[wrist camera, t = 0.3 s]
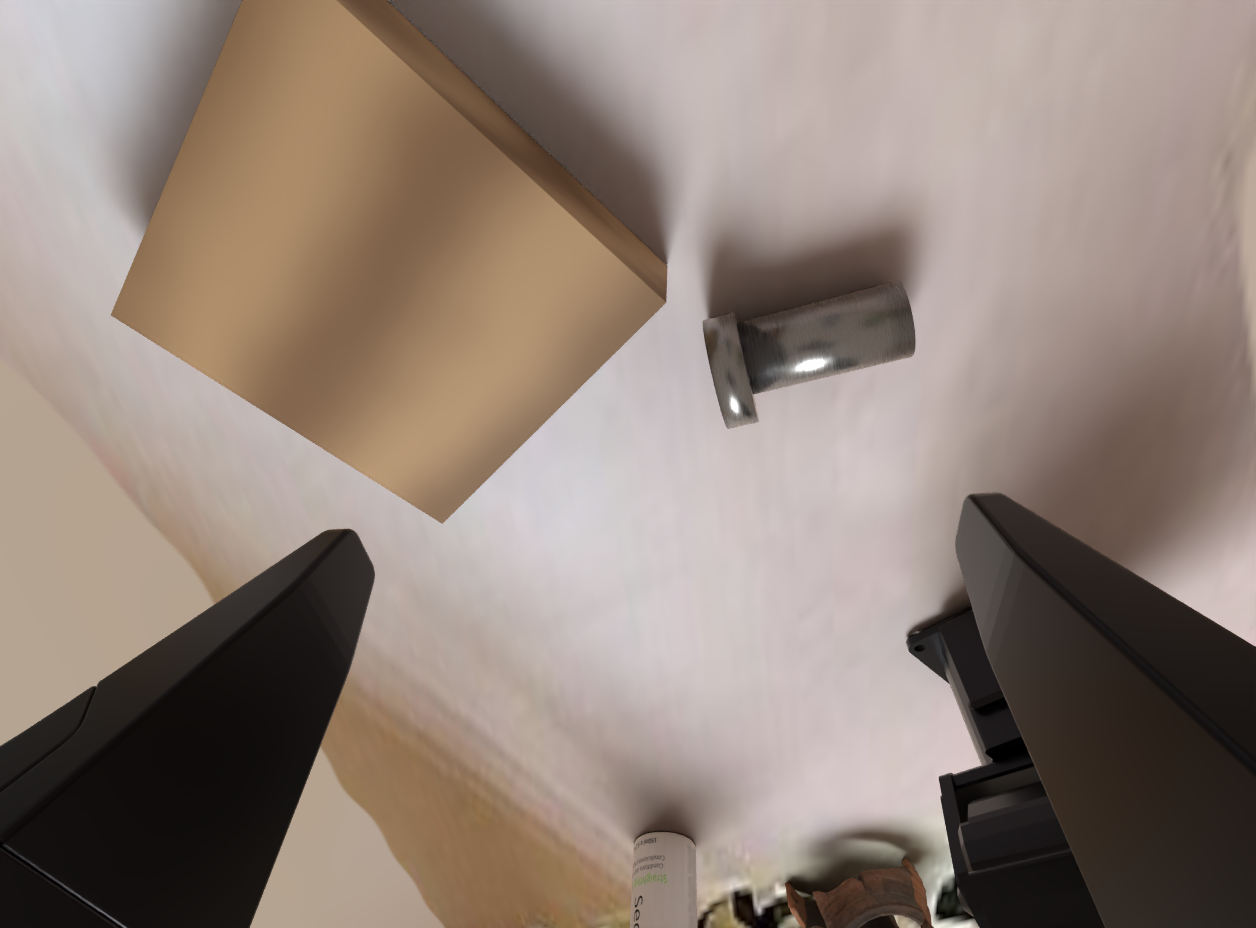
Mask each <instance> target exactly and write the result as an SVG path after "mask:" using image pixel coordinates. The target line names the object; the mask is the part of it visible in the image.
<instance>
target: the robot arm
mask: <svg viewBox="0 0 1256 928" xmlns="http://www.w3.org/2000/svg"><path fill="white" fill-rule="evenodd" d="M955 545H956V554H957V558H958V561H959V565H960V568H961V571H962V575H963V578H964V581H965V585H966V588H967V592H968V595H969V598H970V602H971V605H972V606H971V607H969V608H967V609H965V610H963V611H961V612H959V613H957V614H955V615H953V616H951V617H949V618H947V619H945V620H943V621H941V622H939V623H937V624H935V625H933V626H931V627H929V628H927V629H925V630H923V631H921V632H919V633H917V634H915V635H913V636H911V637H910V638H908V640H907V641H906V644H907V647H908V650H909V652H910V653H911V654H912V655H914V656H915V657H916V658H917V659H919V660H920V661H921V662H923V663H924V664H925V665H926V666H928V667H929V668H930V669H931V670H933V671H934V672H935V673H936V674H938V675H939V676H940V677H941V678H943V679H944V680H945V681H946V682H948V683H949V684H950V686H951V688H952V691H953V693H954V696H955V698H956V701H957V704H958V706H959V709H960V711H961V714H962V716H963V719H964V721H965V724H966V726H967V729H968V731H969V734H970V737H971V739H972V742H973V744H974V747H975V749H976V752H977V754H978V757H979V759H980V762H981V765H982V766H979V767H976V768H973V769H969V770H966V771H963V772H960V773H957V774H952V773H948V774H945V775H942V776H939V782H940V788H941V793H942V796H941V803H942V809H943V814H944V819H945V825H946V830H947V836H948V841H949V846H950V852H951V857H952V863H953V868H954V873H955V879H956V883H957V886H958V898H959V901H960V903H961V905H962V907H963V909H964V910H965V911H966V912H968V913H969V914H971V915H972V916H973V917H974V918H975V920H976V922H977V924H978V926H979V927H980V928H1256V647H1255V646H1253V645H1252V644H1250V643H1248V642H1247V641H1245V640H1243V639H1242V638H1240V637H1239V636H1237V635H1235V634H1234V633H1232V632H1230V631H1229V630H1227V629H1225V628H1224V627H1222V626H1220V625H1219V624H1217V623H1215V622H1214V621H1212V620H1210V619H1209V618H1207V617H1205V616H1204V615H1202V614H1200V613H1199V612H1197V611H1195V610H1194V609H1192V608H1191V607H1189V606H1187V605H1186V604H1184V603H1182V602H1181V601H1179V600H1177V599H1176V598H1174V597H1172V596H1171V595H1169V594H1167V593H1166V592H1164V591H1162V590H1161V589H1159V588H1157V587H1156V586H1154V585H1152V584H1151V583H1149V582H1148V581H1146V580H1144V579H1143V578H1141V577H1139V576H1138V575H1136V574H1134V573H1133V572H1131V571H1129V570H1128V569H1126V568H1124V567H1123V566H1121V565H1119V564H1118V563H1116V562H1114V561H1113V560H1111V559H1109V558H1108V557H1106V556H1105V555H1103V554H1101V553H1100V552H1098V551H1096V550H1095V549H1093V548H1091V547H1090V546H1088V545H1086V544H1085V543H1083V542H1081V541H1080V540H1078V539H1076V538H1075V537H1073V536H1071V535H1070V534H1068V533H1066V532H1065V531H1063V530H1062V529H1060V528H1058V527H1057V526H1055V525H1053V524H1052V523H1050V522H1048V521H1047V520H1045V519H1043V518H1042V517H1040V516H1038V515H1037V514H1035V513H1033V512H1032V511H1030V510H1028V509H1027V508H1025V507H1023V506H1022V505H1020V504H1019V503H1017V502H1015V501H1014V500H1012V499H1010V498H1009V497H1007V496H1005V495H1003V494H1001V493H977V494H970V495H968V496H967V497H966V498H965V500H964V503H963V507H962V511H961V516H960V521H959V526H958V530H957V535H956V543H955ZM374 578H375V572H374V567H373V564H372V562H371V560H370V558H369V556H368V554H367V552H366V550H365V548H364V546H363V544H362V542H361V540H360V538H359V536H358V535H357V533H356V532H355V531H353V530H351V529H333V530H327V531H324V532H322V533H321V534H319V535H318V536H316V537H315V538H313V539H312V540H310V541H309V542H307V543H306V544H304V545H303V546H301V547H300V548H298V549H297V550H295V551H294V552H292V553H291V554H289V555H288V556H286V557H285V558H283V559H282V560H280V561H279V562H277V563H276V564H274V565H273V566H271V567H270V568H269V569H267V570H266V571H264V572H263V573H261V574H260V575H258V576H257V577H255V578H254V579H252V580H251V581H249V582H248V583H246V584H245V585H243V586H242V587H240V588H239V589H237V590H236V591H234V592H233V593H231V594H230V595H228V596H227V597H225V598H224V599H222V600H221V601H219V602H218V603H216V604H215V605H213V606H212V607H210V608H209V609H207V610H206V611H204V612H203V613H201V614H200V615H198V616H197V617H195V618H194V619H192V620H191V621H189V622H188V623H186V624H185V625H183V626H182V627H180V628H179V629H177V630H176V631H174V632H173V633H171V634H170V635H168V636H167V637H165V638H164V639H162V640H161V641H159V642H158V643H156V644H155V645H154V646H152V647H150V648H149V649H147V650H146V651H144V652H143V653H142V654H140V655H138V656H137V657H135V658H134V659H132V660H131V661H130V662H128V663H127V664H125V665H124V666H122V667H121V668H119V669H118V670H116V671H115V672H113V673H112V674H110V675H109V676H107V677H106V678H104V679H103V680H101V681H100V682H99V683H98V684H97V686H93V687H91V688H89V689H87V690H86V691H84V692H83V693H82V694H80V695H78V696H77V697H76V698H74V699H73V700H71V701H70V702H68V703H67V704H65V705H64V706H62V707H60V708H59V709H57V710H56V711H54V712H53V713H51V714H50V715H48V716H47V717H45V718H44V719H42V720H41V721H39V722H37V723H36V724H34V725H33V726H31V727H30V728H28V729H27V730H25V731H24V732H22V733H21V734H19V735H18V736H16V737H14V738H13V739H11V740H9V741H8V742H6V743H4V744H3V745H1V746H0V928H250V925H251V923H252V920H253V918H254V915H255V913H256V910H257V907H258V905H259V902H260V899H261V897H262V895H263V892H264V889H265V887H266V884H267V882H268V879H269V877H270V874H271V871H272V869H273V866H274V864H275V861H276V859H277V856H278V853H279V851H280V848H281V846H282V843H283V840H284V838H285V835H286V833H287V830H288V828H289V825H290V823H291V820H292V817H293V815H294V812H295V809H296V807H297V805H298V802H299V799H300V797H301V794H302V792H303V789H304V787H305V784H306V781H307V779H308V776H309V774H310V771H311V769H312V766H313V763H314V761H315V758H316V756H317V753H318V751H319V748H320V745H321V743H322V740H323V738H324V735H325V733H326V730H327V727H328V725H329V722H330V720H331V717H332V715H333V712H334V709H335V707H336V704H337V702H338V699H339V697H340V694H341V691H342V689H343V686H344V684H345V681H346V678H347V675H348V673H349V670H350V667H351V664H352V660H353V657H354V654H355V650H356V647H357V643H358V639H359V636H360V632H361V628H362V625H363V621H364V617H365V613H366V610H367V606H368V602H369V599H370V595H371V591H372V588H373V584H374Z"/></svg>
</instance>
